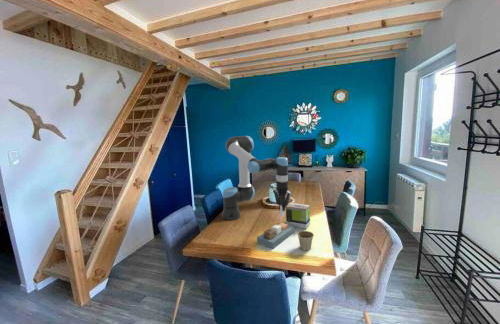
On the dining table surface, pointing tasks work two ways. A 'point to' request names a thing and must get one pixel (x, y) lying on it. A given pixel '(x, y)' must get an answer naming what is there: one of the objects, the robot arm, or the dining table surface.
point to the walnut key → (269, 234)
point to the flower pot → (305, 239)
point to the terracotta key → (283, 226)
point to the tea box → (298, 215)
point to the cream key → (276, 229)
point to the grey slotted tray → (275, 238)
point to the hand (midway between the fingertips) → (282, 215)
